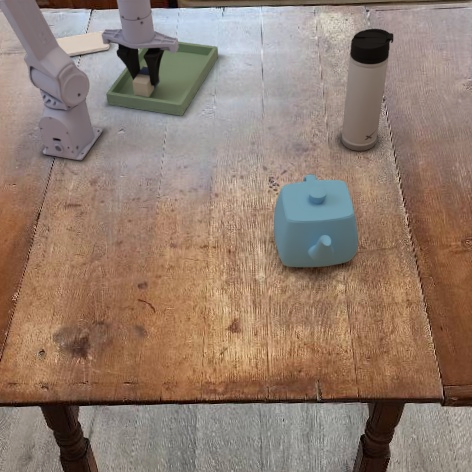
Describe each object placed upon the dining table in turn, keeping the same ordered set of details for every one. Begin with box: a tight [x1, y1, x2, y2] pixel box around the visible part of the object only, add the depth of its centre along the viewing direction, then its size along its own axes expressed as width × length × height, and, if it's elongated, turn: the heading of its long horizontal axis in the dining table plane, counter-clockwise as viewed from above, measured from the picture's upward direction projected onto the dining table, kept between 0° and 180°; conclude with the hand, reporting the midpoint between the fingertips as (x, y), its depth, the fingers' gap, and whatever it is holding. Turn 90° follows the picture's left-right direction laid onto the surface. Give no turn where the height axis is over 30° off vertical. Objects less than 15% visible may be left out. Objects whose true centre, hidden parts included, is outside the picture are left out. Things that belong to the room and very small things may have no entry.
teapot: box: [273, 173, 359, 268], centre depth 102 cm, size 12×18×12 cm
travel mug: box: [341, 28, 394, 152], centre depth 115 cm, size 6×7×20 cm
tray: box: [105, 41, 219, 117], centre depth 137 cm, size 22×16×2 cm
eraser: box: [132, 65, 160, 97], centre depth 132 cm, size 6×3×3 cm, turn 162°
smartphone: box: [55, 30, 110, 57], centre depth 147 cm, size 7×1×15 cm
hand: (146, 81), depth 132 cm, fingers closed on eraser, 3 cm apart
